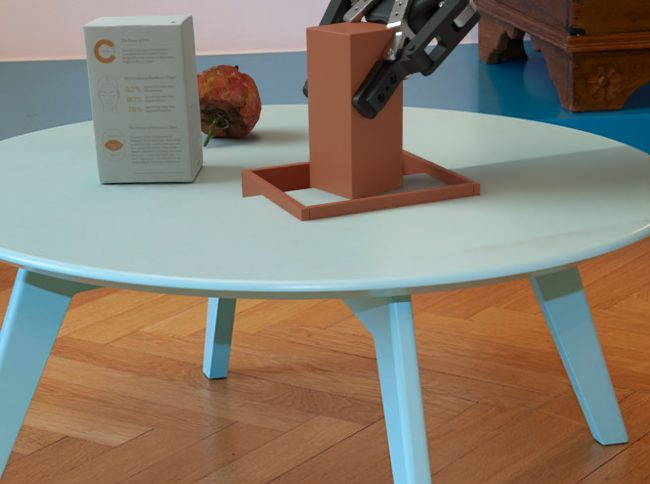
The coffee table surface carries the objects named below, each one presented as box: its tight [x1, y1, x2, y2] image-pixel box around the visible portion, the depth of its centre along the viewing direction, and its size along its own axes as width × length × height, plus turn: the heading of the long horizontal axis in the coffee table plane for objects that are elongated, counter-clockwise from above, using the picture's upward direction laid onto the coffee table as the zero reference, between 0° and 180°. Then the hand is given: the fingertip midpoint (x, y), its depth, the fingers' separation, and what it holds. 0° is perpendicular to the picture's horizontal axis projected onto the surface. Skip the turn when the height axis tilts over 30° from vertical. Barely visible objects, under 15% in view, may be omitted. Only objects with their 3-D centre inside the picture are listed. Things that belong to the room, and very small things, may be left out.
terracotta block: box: [305, 20, 404, 200], centre depth 84 cm, size 5×5×12 cm
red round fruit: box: [197, 64, 263, 148], centre depth 108 cm, size 7×7×10 cm
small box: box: [82, 14, 204, 184], centre depth 95 cm, size 8×6×13 cm
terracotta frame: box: [240, 149, 481, 222], centre depth 86 cm, size 14×12×3 cm
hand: (336, 105), depth 82 cm, fingers closed on terracotta block, 5 cm apart
